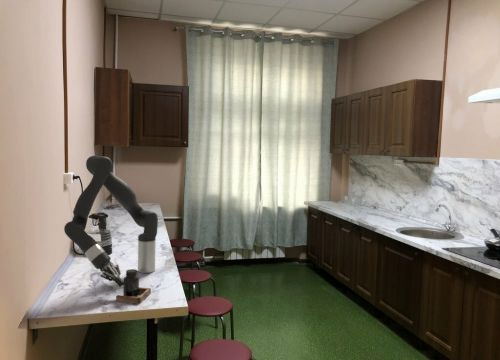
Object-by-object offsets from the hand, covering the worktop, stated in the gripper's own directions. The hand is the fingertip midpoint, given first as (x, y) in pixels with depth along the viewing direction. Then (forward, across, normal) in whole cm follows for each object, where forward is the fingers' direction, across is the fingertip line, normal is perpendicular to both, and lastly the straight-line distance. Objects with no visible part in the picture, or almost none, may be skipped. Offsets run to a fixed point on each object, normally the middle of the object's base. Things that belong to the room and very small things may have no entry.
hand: (122, 285), depth 174 cm
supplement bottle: (+6, +1, +1) cm, 7 cm away
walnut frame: (+7, 0, 0) cm, 7 cm away
